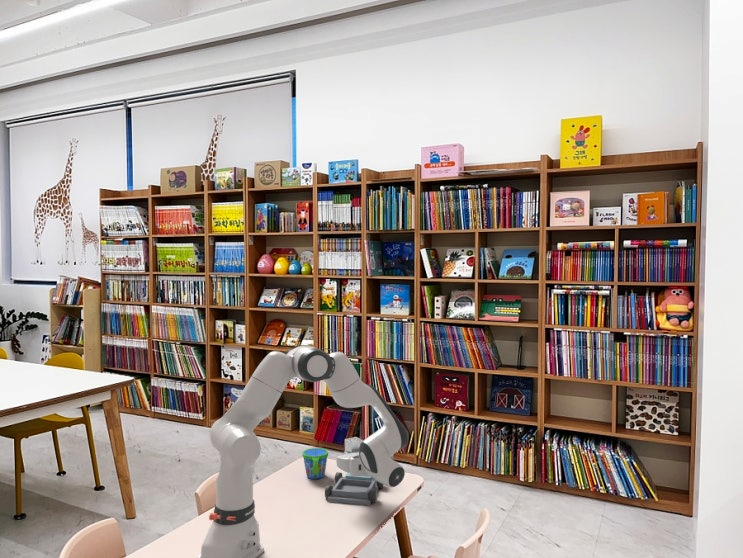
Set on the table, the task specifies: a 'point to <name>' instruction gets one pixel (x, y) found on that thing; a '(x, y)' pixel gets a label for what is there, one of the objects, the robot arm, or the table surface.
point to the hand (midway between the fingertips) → (352, 451)
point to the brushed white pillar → (352, 444)
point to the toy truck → (353, 489)
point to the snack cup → (315, 462)
